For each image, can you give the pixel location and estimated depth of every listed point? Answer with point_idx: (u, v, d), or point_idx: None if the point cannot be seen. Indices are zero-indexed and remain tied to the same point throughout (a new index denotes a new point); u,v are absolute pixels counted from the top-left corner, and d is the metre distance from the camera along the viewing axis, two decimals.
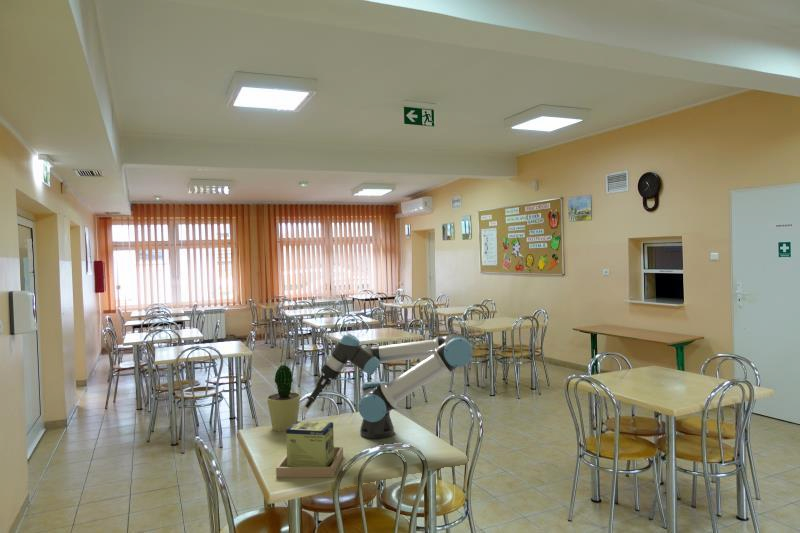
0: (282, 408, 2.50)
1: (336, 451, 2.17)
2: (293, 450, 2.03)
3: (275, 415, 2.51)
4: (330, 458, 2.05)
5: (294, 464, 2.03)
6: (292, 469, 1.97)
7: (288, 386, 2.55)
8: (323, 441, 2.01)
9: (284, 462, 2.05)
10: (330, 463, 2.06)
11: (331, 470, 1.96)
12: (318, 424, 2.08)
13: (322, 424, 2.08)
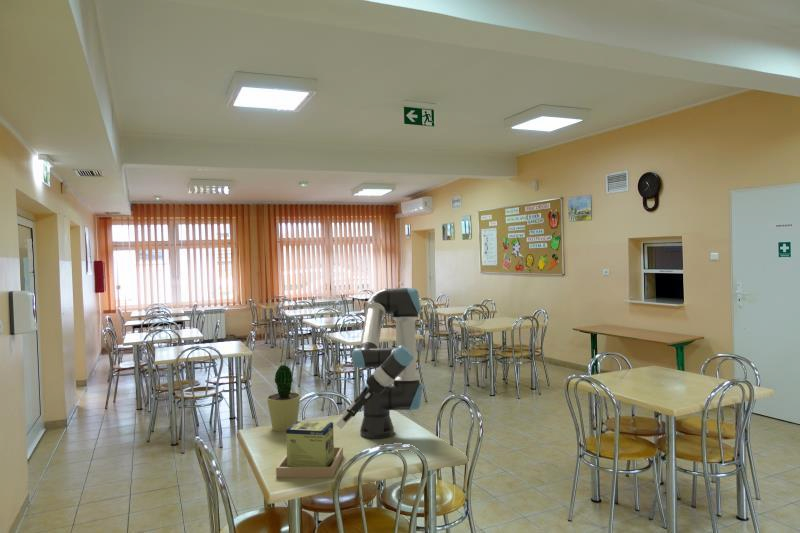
0: (282, 408, 2.50)
1: (336, 451, 2.17)
2: (293, 450, 2.03)
3: (275, 415, 2.51)
4: (330, 458, 2.05)
5: (294, 464, 2.03)
6: (292, 469, 1.97)
7: (288, 386, 2.55)
8: (323, 441, 2.01)
9: (284, 462, 2.05)
10: (330, 463, 2.06)
11: (331, 470, 1.96)
12: (318, 424, 2.08)
13: (322, 424, 2.08)
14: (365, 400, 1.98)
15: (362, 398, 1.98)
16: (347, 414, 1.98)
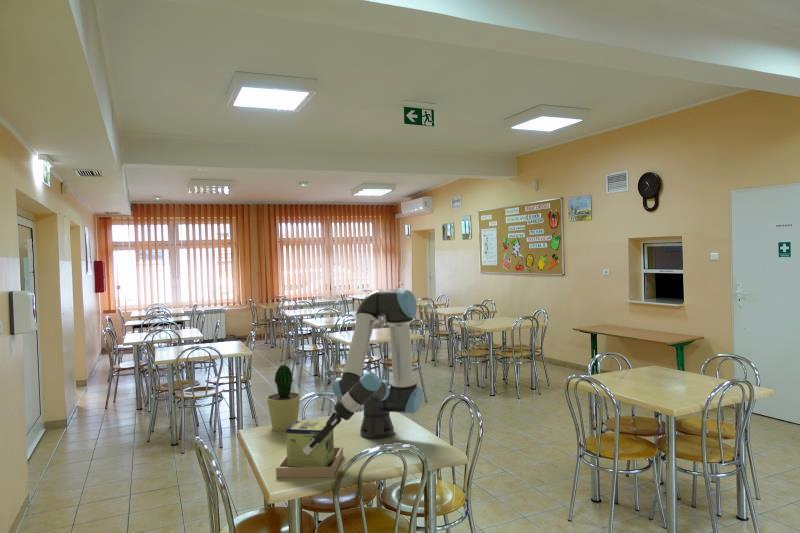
0: (282, 408, 2.50)
1: (336, 451, 2.17)
2: (293, 450, 2.03)
3: (275, 415, 2.51)
4: (330, 458, 2.06)
5: (294, 464, 2.03)
6: (292, 469, 1.97)
7: (288, 386, 2.55)
8: (323, 441, 2.01)
9: (284, 462, 2.05)
10: (330, 463, 2.06)
11: (331, 470, 1.96)
12: (318, 424, 2.08)
13: (322, 424, 2.08)
14: (331, 427, 1.99)
15: (328, 425, 1.99)
16: (313, 441, 2.00)
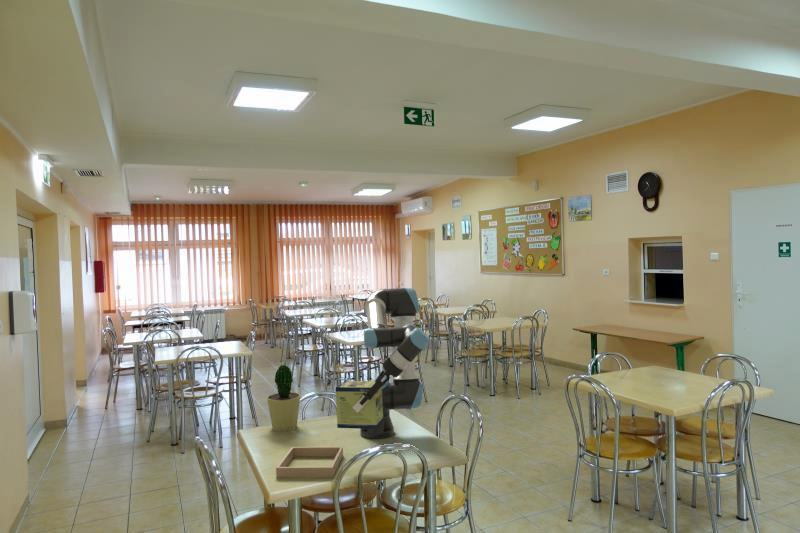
0: (282, 408, 2.50)
1: (336, 451, 2.17)
2: (343, 408, 2.03)
3: (275, 415, 2.51)
4: (379, 416, 2.05)
5: (344, 422, 2.03)
6: (292, 469, 1.97)
7: (288, 386, 2.55)
8: (373, 398, 2.00)
9: (284, 462, 2.05)
10: (380, 421, 2.05)
11: (331, 470, 1.96)
12: (366, 382, 2.08)
13: (370, 382, 2.08)
14: (381, 383, 1.98)
15: (378, 381, 1.99)
16: (363, 397, 1.99)
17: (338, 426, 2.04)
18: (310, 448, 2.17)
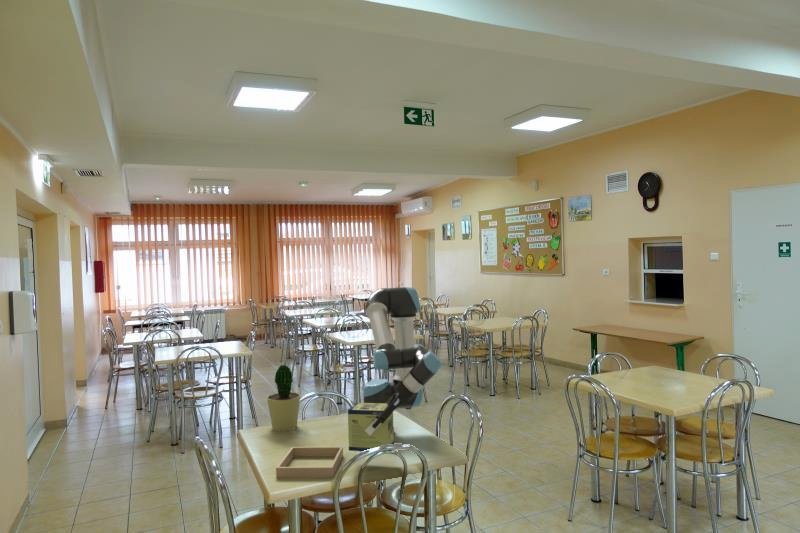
0: (282, 408, 2.50)
1: (336, 451, 2.17)
2: (355, 430, 2.03)
3: (275, 415, 2.51)
4: (391, 439, 2.05)
5: (356, 445, 2.03)
6: (292, 469, 1.97)
7: (288, 386, 2.55)
8: (385, 421, 2.00)
9: (284, 462, 2.05)
10: None
11: (331, 470, 1.96)
12: (378, 405, 2.08)
13: (382, 405, 2.08)
14: (394, 407, 1.99)
15: (391, 405, 1.99)
16: (376, 421, 1.99)
17: (349, 449, 2.03)
18: (310, 448, 2.17)
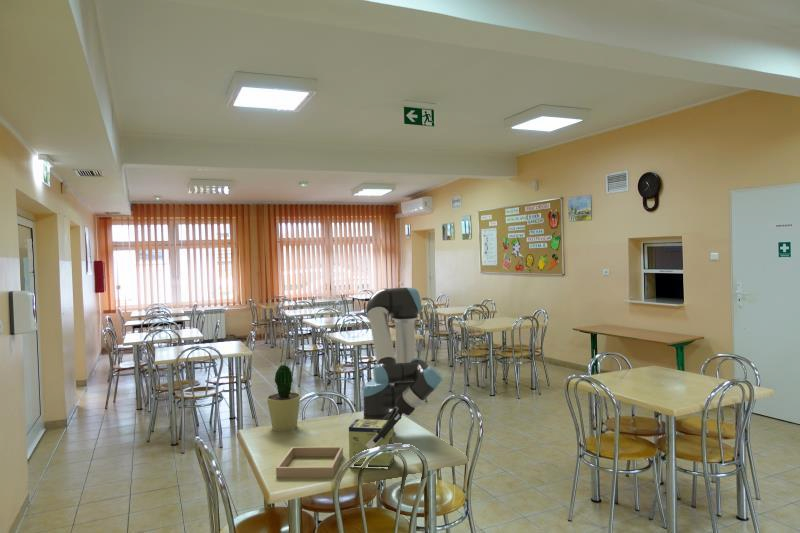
0: (282, 408, 2.50)
1: (336, 451, 2.17)
2: (356, 448, 2.04)
3: (275, 415, 2.51)
4: (391, 456, 2.06)
5: (356, 462, 2.04)
6: (292, 469, 1.97)
7: (288, 386, 2.55)
8: (386, 439, 2.01)
9: (284, 462, 2.05)
10: (392, 460, 2.07)
11: (331, 470, 1.96)
12: (379, 422, 2.09)
13: (383, 422, 2.09)
14: (395, 421, 2.00)
15: (392, 419, 2.00)
16: (377, 435, 1.99)
17: None
18: (310, 448, 2.17)
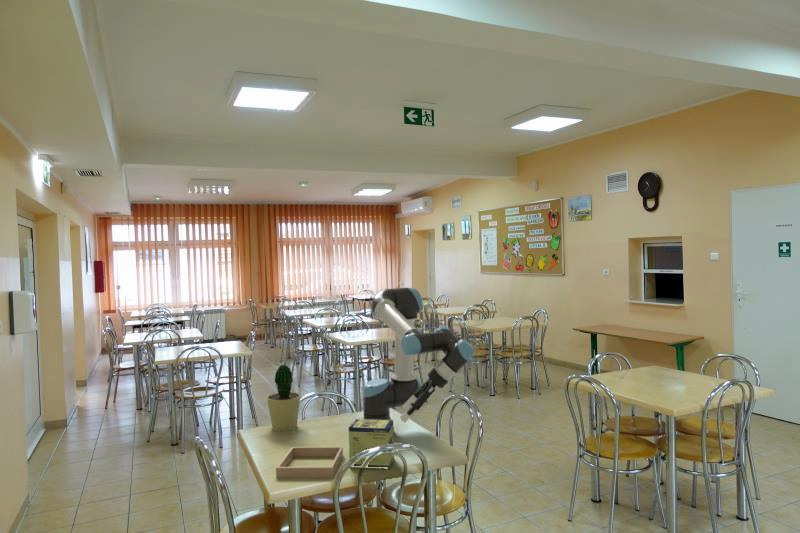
0: (282, 408, 2.50)
1: (336, 451, 2.17)
2: (356, 448, 2.04)
3: (275, 415, 2.51)
4: (391, 456, 2.06)
5: (356, 462, 2.04)
6: (292, 469, 1.97)
7: (288, 386, 2.55)
8: (386, 439, 2.01)
9: (284, 462, 2.05)
10: (392, 460, 2.07)
11: (331, 470, 1.96)
12: (379, 422, 2.09)
13: (383, 422, 2.09)
14: (429, 394, 1.99)
15: (426, 392, 1.99)
16: (411, 408, 1.98)
17: None
18: (310, 448, 2.17)
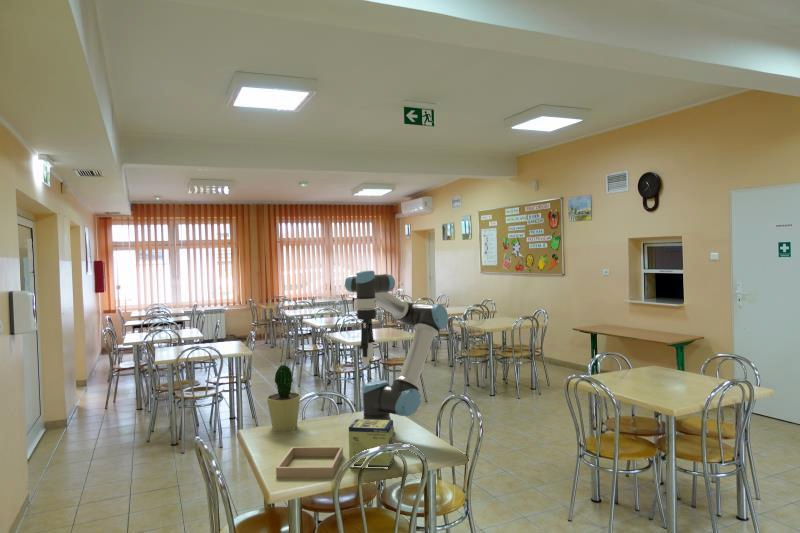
0: (282, 408, 2.50)
1: (336, 451, 2.17)
2: (356, 448, 2.04)
3: (275, 415, 2.51)
4: (391, 456, 2.06)
5: (356, 462, 2.04)
6: (292, 469, 1.97)
7: (288, 386, 2.55)
8: (386, 439, 2.01)
9: (284, 462, 2.05)
10: (392, 460, 2.07)
11: (331, 470, 1.96)
12: (379, 422, 2.09)
13: (383, 422, 2.09)
14: (366, 329, 2.12)
15: (362, 330, 2.12)
16: (363, 350, 2.11)
17: None
18: (310, 448, 2.17)
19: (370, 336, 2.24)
